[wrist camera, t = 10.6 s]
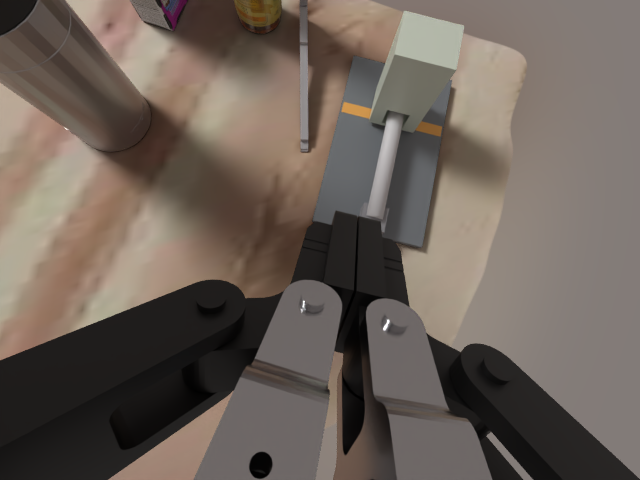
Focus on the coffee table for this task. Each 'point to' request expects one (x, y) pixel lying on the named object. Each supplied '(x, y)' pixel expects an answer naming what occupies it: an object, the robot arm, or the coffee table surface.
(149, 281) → the coffee table surface
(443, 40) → the sage green block
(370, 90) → the pipe rig
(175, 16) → the candy bar box
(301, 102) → the caliper
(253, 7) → the sauce bottle
